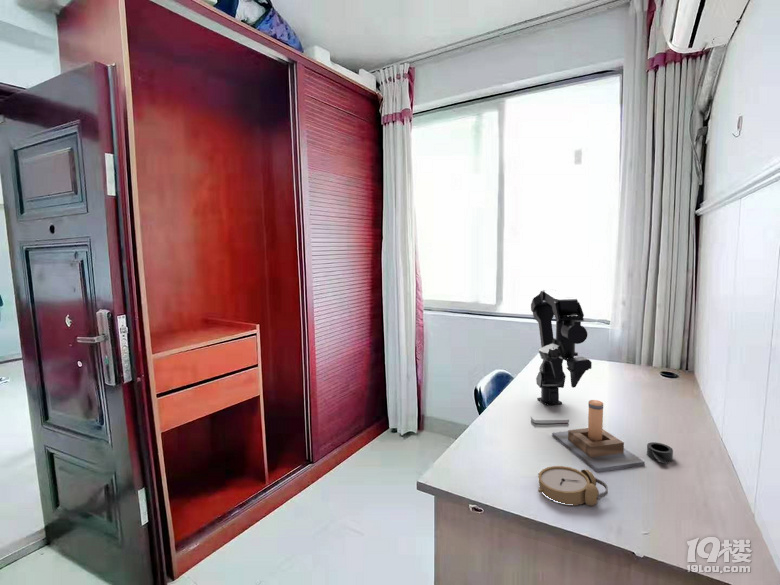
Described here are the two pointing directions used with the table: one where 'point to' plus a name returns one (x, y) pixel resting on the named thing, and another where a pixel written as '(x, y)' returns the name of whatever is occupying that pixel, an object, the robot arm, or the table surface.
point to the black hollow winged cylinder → (659, 452)
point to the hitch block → (598, 450)
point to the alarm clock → (570, 485)
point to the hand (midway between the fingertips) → (564, 382)
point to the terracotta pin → (595, 420)
